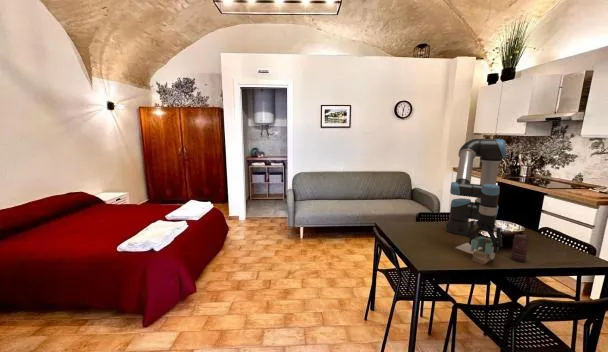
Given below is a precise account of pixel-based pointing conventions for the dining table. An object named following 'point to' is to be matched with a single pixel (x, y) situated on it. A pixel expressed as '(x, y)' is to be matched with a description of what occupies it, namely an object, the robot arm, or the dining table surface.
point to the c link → (482, 244)
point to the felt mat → (466, 248)
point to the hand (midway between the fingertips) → (481, 254)
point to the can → (520, 247)
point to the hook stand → (481, 255)
